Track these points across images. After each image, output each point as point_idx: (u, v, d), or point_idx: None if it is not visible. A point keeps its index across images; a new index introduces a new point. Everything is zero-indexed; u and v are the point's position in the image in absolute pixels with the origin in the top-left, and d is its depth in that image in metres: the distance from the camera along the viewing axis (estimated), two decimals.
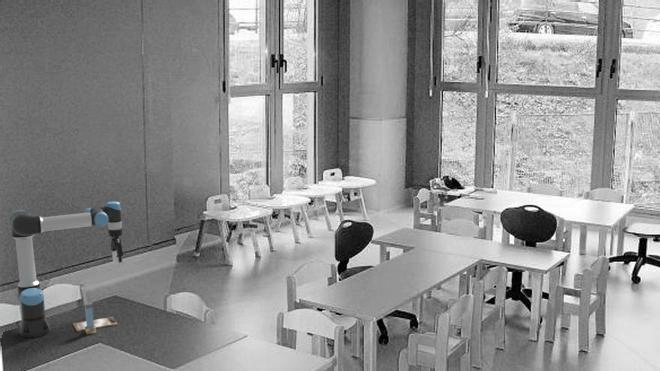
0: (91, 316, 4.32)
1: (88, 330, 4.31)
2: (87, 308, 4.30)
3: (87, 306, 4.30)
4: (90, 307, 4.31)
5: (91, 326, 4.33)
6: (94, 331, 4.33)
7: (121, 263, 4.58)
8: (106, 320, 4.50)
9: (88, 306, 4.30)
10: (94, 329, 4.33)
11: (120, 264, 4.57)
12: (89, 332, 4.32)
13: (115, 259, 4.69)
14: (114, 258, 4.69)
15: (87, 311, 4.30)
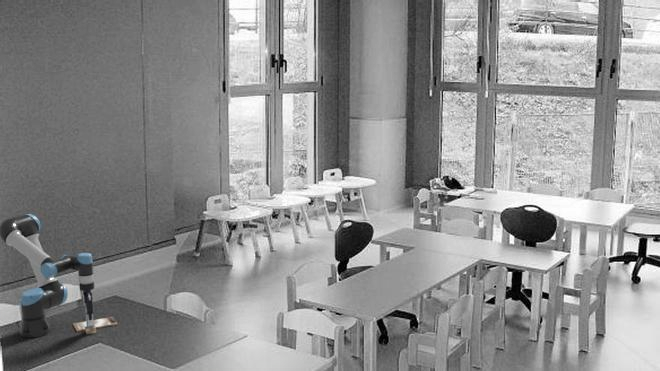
0: None
1: (88, 330, 4.31)
2: None
3: None
4: None
5: (91, 326, 4.33)
6: (94, 331, 4.33)
7: (91, 321, 4.32)
8: (106, 320, 4.50)
9: None
10: (94, 329, 4.33)
11: (90, 322, 4.31)
12: (89, 332, 4.32)
13: None
14: None
15: None
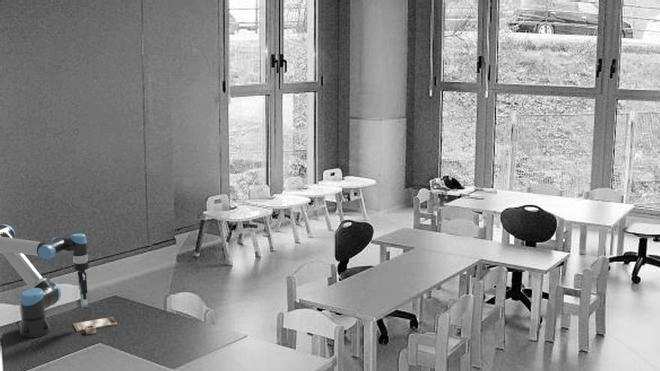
0: None
1: (88, 330, 4.31)
2: None
3: None
4: None
5: (86, 305, 4.41)
6: (94, 331, 4.33)
7: (86, 300, 4.40)
8: (106, 320, 4.50)
9: None
10: (94, 329, 4.33)
11: (85, 301, 4.39)
12: (89, 332, 4.32)
13: None
14: None
15: (81, 290, 4.38)
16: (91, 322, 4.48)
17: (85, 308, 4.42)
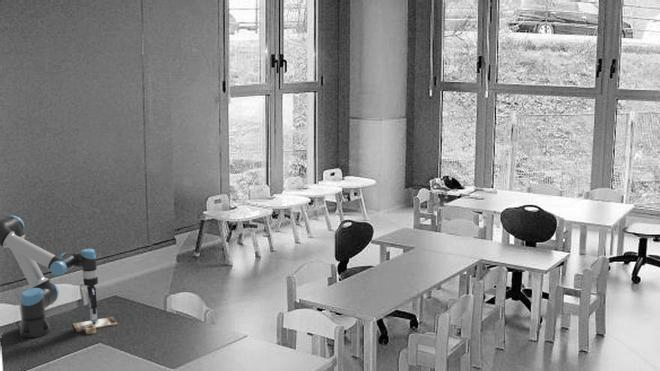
0: None
1: (88, 330, 4.31)
2: None
3: None
4: None
5: (95, 320, 4.44)
6: (94, 331, 4.33)
7: (95, 315, 4.43)
8: (106, 320, 4.50)
9: None
10: (94, 329, 4.33)
11: (94, 316, 4.43)
12: (89, 332, 4.32)
13: None
14: None
15: None
16: (91, 322, 4.48)
17: (94, 323, 4.45)
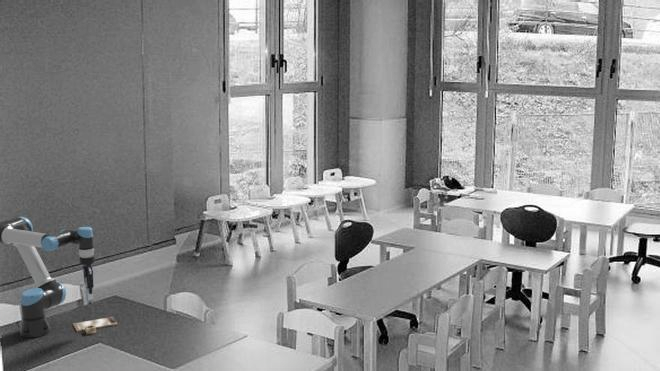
0: None
1: (88, 330, 4.31)
2: None
3: None
4: None
5: (91, 300, 4.32)
6: (94, 331, 4.33)
7: (91, 295, 4.31)
8: (106, 320, 4.50)
9: None
10: (94, 329, 4.33)
11: (90, 296, 4.31)
12: (89, 332, 4.32)
13: None
14: None
15: (87, 285, 4.30)
16: (91, 322, 4.48)
17: (90, 303, 4.33)
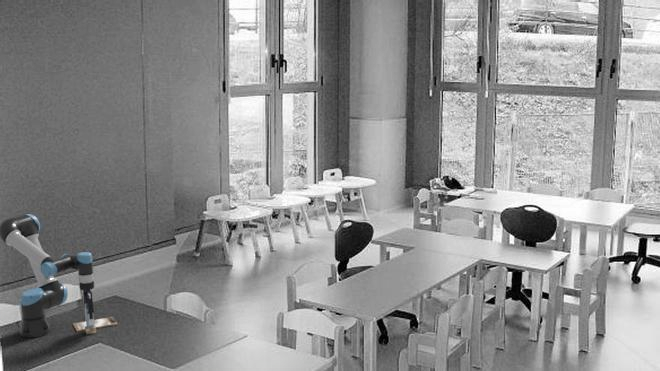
0: None
1: (88, 330, 4.31)
2: (87, 308, 4.30)
3: None
4: None
5: (91, 326, 4.33)
6: (94, 331, 4.33)
7: (92, 320, 4.29)
8: (106, 320, 4.50)
9: None
10: (94, 329, 4.33)
11: (91, 321, 4.29)
12: (89, 332, 4.32)
13: None
14: None
15: (87, 311, 4.30)
16: None
17: None
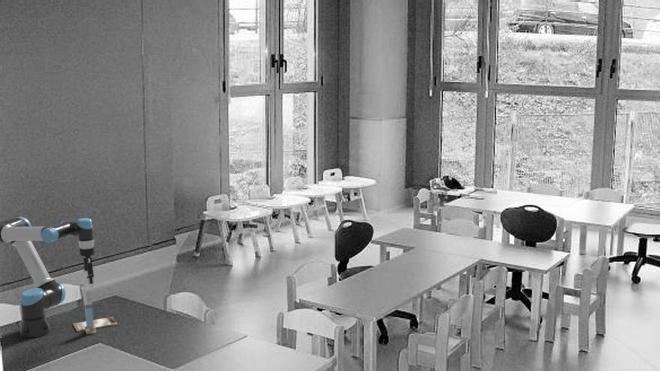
0: (91, 316, 4.32)
1: (88, 330, 4.31)
2: (87, 308, 4.30)
3: (87, 306, 4.30)
4: (90, 307, 4.31)
5: (91, 326, 4.33)
6: (94, 331, 4.33)
7: (92, 285, 4.26)
8: (106, 320, 4.50)
9: (88, 306, 4.30)
10: (94, 329, 4.33)
11: (91, 286, 4.26)
12: (89, 332, 4.32)
13: (87, 280, 4.38)
14: (87, 278, 4.38)
15: (87, 311, 4.30)
16: None
17: None
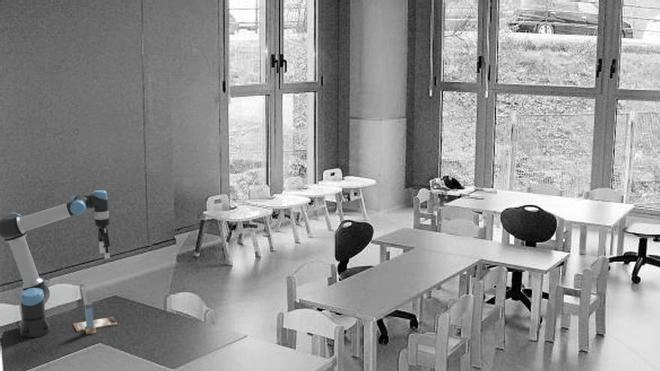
0: (91, 316, 4.32)
1: (88, 330, 4.31)
2: (87, 308, 4.30)
3: (87, 306, 4.30)
4: (90, 307, 4.31)
5: (91, 326, 4.33)
6: (94, 331, 4.33)
7: (108, 254, 4.42)
8: (106, 320, 4.50)
9: (88, 306, 4.30)
10: (94, 329, 4.33)
11: (107, 255, 4.42)
12: (89, 332, 4.32)
13: (102, 250, 4.54)
14: (101, 249, 4.54)
15: (87, 311, 4.30)
16: None
17: None
